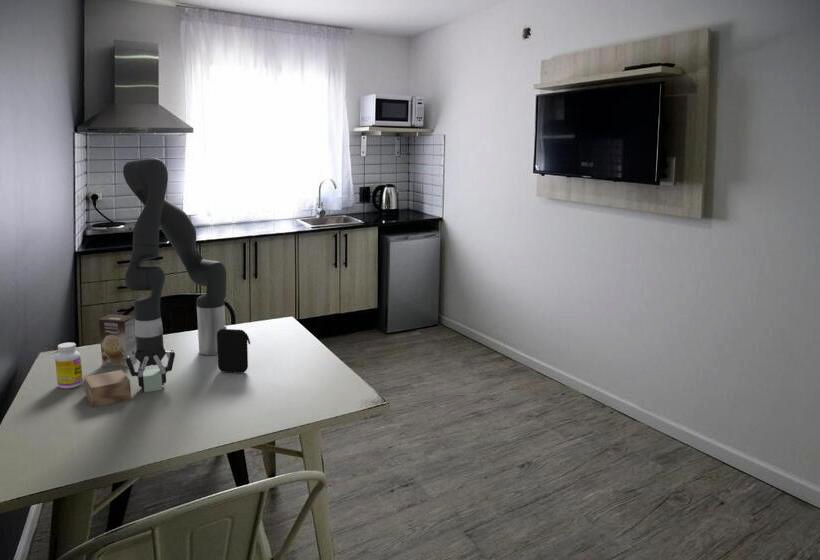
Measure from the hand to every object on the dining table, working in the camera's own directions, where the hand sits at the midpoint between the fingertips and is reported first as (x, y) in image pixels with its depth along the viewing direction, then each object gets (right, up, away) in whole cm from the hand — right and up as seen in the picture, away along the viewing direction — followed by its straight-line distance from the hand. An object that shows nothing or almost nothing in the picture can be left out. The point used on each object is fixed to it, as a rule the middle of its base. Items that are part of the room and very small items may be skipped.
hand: (152, 385), depth 178 cm
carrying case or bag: (+21, +2, +14) cm, 25 cm away
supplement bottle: (-25, 0, 0) cm, 25 cm away
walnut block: (-10, -2, -7) cm, 12 cm away
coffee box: (-19, +4, +19) cm, 27 cm away
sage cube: (0, -1, 0) cm, 1 cm away
